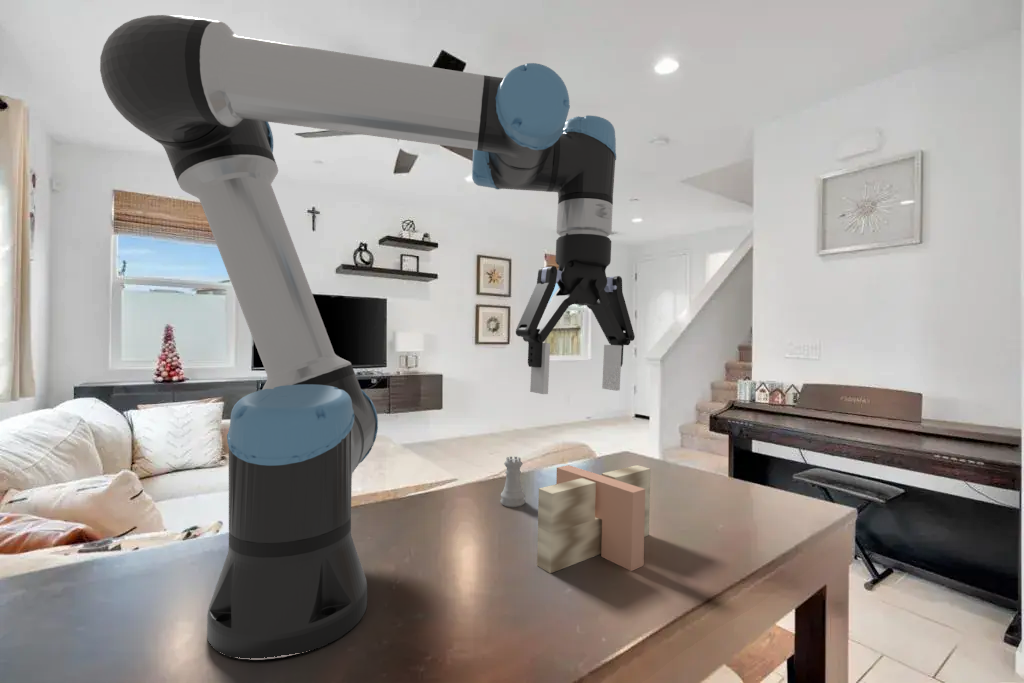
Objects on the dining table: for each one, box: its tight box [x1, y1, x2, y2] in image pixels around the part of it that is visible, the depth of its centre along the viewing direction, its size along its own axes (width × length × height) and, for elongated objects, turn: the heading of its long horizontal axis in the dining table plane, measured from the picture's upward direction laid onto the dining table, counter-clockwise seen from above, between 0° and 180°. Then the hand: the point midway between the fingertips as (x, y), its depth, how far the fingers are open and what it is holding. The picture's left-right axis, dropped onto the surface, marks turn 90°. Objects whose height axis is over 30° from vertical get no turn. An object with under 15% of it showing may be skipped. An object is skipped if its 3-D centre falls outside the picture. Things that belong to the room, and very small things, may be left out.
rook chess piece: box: [499, 456, 526, 508], centre depth 87 cm, size 4×4×8 cm
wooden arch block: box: [555, 464, 645, 572], centre depth 69 cm, size 14×2×10 cm, turn 38°
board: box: [536, 464, 652, 574], centre depth 69 cm, size 20×2×10 cm, turn 128°
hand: (577, 391), depth 68 cm, fingers open, 13 cm apart
